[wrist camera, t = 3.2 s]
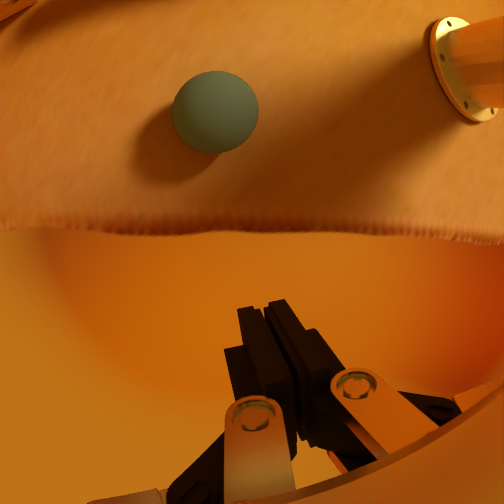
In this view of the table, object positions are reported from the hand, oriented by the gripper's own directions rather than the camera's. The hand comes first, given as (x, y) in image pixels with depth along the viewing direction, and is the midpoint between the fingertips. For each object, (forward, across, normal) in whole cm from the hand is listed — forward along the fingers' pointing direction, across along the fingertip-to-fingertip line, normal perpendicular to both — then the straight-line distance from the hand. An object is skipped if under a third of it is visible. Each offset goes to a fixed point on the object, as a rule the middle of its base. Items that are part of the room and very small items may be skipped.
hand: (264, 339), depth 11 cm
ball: (+11, 0, -9) cm, 14 cm away
